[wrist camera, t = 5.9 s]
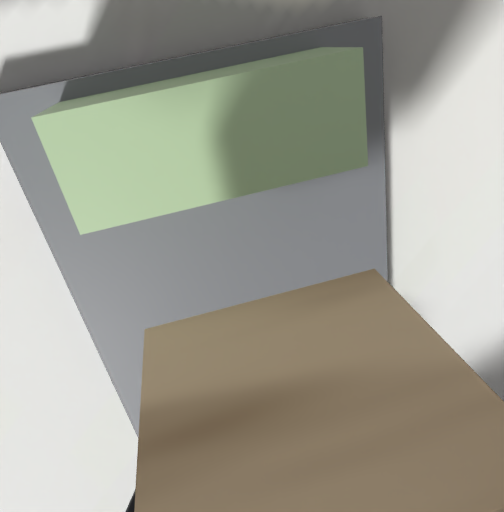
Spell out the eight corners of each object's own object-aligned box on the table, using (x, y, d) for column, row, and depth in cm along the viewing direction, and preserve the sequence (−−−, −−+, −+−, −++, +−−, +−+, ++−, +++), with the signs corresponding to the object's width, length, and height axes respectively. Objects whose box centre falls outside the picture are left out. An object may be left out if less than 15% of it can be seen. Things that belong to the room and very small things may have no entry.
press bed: (383, 449, 24) (421, 517, 21) (180, 511, 23) (183, 595, 19) (367, 18, 14) (439, 8, 10) (-7, 95, 12) (-73, 113, 9)
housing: (381, 424, 11) (535, 688, 7) (201, 478, 11) (232, 802, 6) (374, 268, 9) (607, 508, 4) (144, 329, 8) (126, 670, 4)
